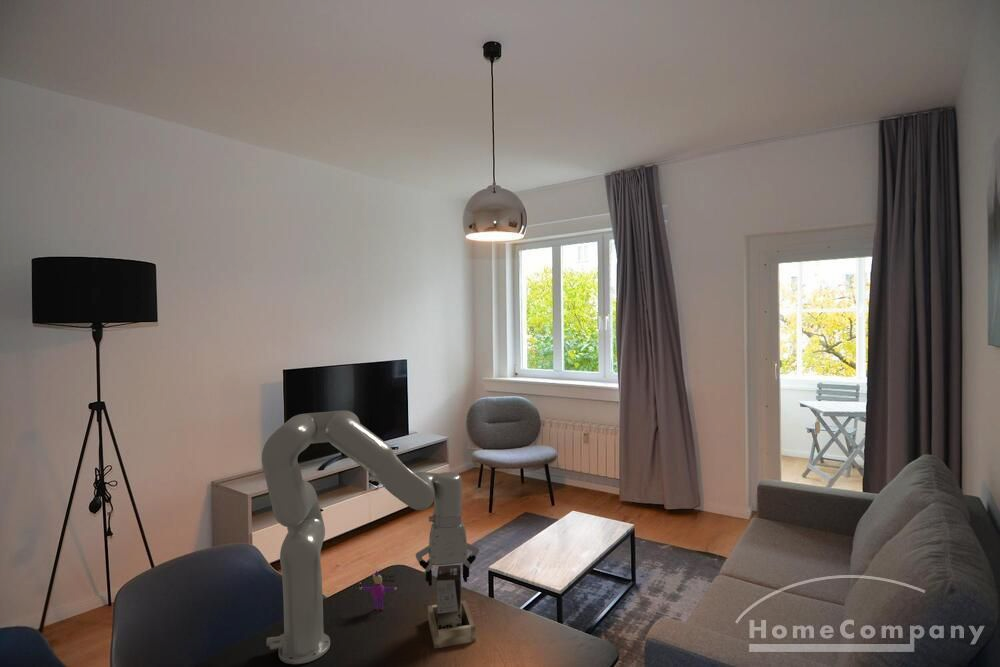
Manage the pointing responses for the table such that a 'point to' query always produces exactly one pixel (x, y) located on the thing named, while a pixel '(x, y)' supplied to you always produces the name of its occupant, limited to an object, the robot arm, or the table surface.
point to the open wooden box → (452, 629)
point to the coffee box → (449, 597)
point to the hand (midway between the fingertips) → (447, 581)
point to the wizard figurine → (378, 588)
